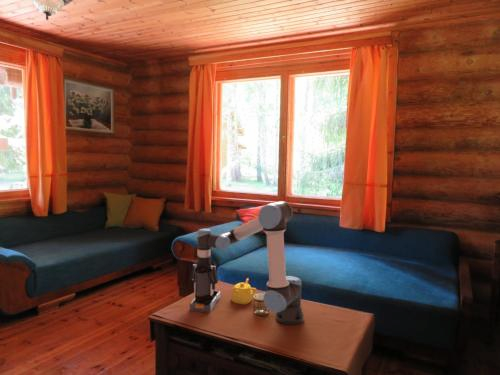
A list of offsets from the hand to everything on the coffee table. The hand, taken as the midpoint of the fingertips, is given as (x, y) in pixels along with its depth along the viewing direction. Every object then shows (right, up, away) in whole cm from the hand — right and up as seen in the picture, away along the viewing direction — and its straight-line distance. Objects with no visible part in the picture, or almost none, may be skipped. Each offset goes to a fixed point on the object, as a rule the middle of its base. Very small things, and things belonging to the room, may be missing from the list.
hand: (203, 293), depth 211 cm
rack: (+1, -7, +5) cm, 9 cm away
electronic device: (0, -5, +1) cm, 5 cm away
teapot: (+23, -7, +10) cm, 27 cm away
